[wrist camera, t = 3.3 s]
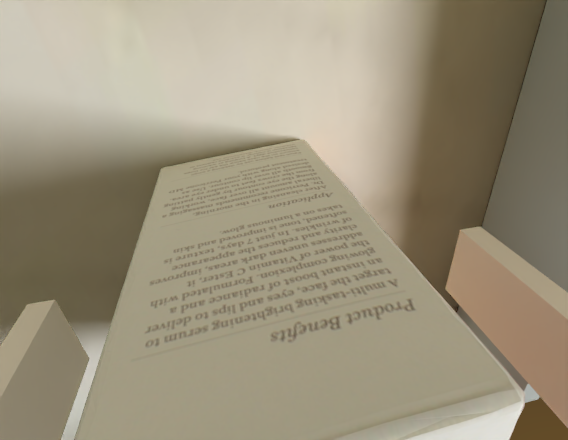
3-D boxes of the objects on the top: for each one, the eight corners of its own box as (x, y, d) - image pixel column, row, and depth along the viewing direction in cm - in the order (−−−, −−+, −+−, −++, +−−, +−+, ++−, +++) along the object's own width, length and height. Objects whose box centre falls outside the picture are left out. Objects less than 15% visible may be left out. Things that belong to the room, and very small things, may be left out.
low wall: (452, 326, 21) (516, 404, 16) (582, -123, 10) (848, -224, 6) (470, 322, 21) (538, 398, 17) (615, -124, 10) (895, -222, 6)
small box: (322, 288, 17) (455, 586, 8) (211, 316, 16) (221, 671, 7) (306, 132, 13) (555, 399, 4) (156, 162, 12) (24, 563, 3)
